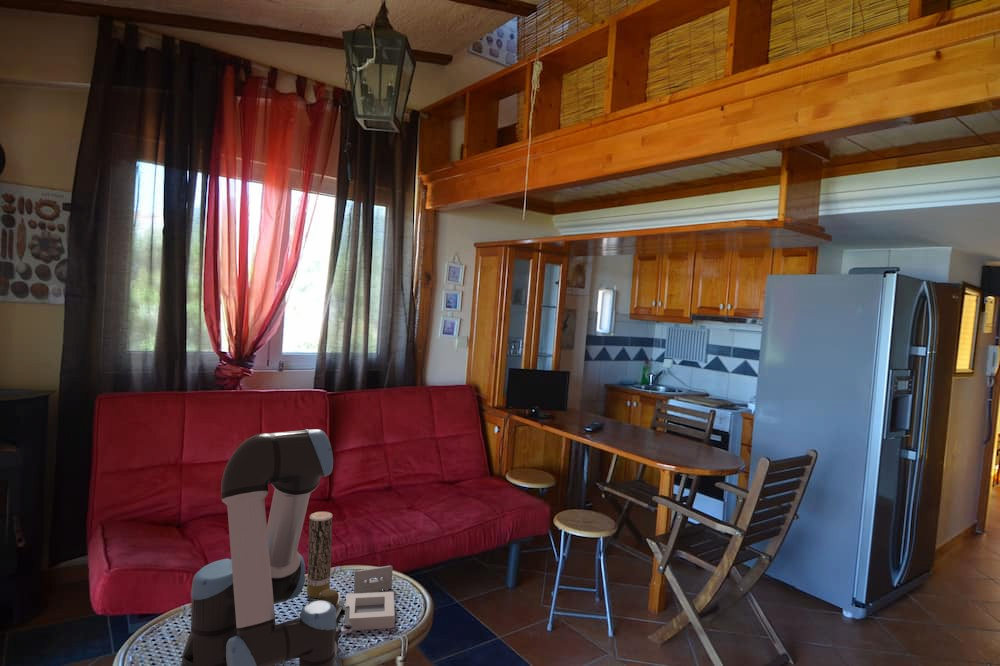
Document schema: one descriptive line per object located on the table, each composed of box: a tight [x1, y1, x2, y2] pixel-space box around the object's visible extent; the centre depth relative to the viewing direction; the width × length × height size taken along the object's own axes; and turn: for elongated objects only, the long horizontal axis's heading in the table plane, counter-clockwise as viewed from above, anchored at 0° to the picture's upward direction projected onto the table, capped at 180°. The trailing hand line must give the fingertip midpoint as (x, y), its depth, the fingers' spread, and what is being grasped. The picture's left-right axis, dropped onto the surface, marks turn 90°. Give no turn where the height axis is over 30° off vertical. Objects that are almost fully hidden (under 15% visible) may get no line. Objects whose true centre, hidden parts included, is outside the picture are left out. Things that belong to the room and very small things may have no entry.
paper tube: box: [306, 511, 333, 599], centre depth 181 cm, size 7×7×25 cm
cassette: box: [353, 565, 393, 594], centre depth 184 cm, size 12×2×8 cm, turn 115°
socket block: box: [343, 591, 396, 632], centre depth 170 cm, size 14×14×4 cm
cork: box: [318, 588, 340, 628], centre depth 155 cm, size 6×6×11 cm
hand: (330, 597), depth 160 cm, fingers closed on cork, 4 cm apart
